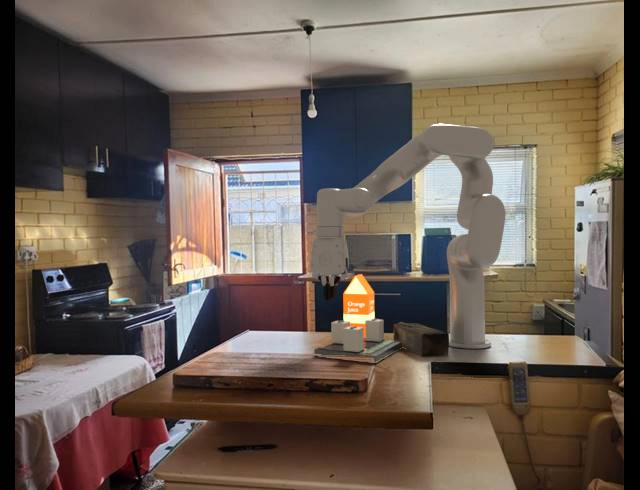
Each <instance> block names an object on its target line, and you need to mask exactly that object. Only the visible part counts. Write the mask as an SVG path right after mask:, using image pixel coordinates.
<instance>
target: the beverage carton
mask: <svg viewBox="0 0 640 490" xmlns="http://www.w3.org/2000/svg"><path fill="white" fill-rule="evenodd" d="M449 337H450V333H449V332H445V331H441V330H440V329H435V328H432V327H429V326H426V325H422V324H420V323H416V322H415V323H414V322H410V323H406V322H403V321H400V322H398V323H394V324H393V341H401V342H402V347H404V348H406V349H407V351H408V350H409V352H411V353H414V354H415V355H417V356H419V357H421V358H435V357H437V358H438V357H448V356H449V354H450V353H449V352H450V351H449V350H450V349H449V348H450V346H449ZM404 348H403V349H404ZM406 349H405V350H406Z"/></svg>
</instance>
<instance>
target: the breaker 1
mask: <svg viewBox="0 0 640 490" xmlns="http://www.w3.org/2000/svg"><path fill="white" fill-rule="evenodd" d="M363 349H364V328H363V327H357V326H353V327H351V326H349V327H346V328H343V350H344V351H353V352H359V351H361V350H363Z"/></svg>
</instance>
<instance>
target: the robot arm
mask: <svg viewBox="0 0 640 490" xmlns="http://www.w3.org/2000/svg"><path fill="white" fill-rule="evenodd" d="M494 146H495V143H494V138H493V136H492V134H491V133H490V132H489V131H488V130H487V129H485V128H482V127H478V126H477V127H476V126H470V125H469V126H466V125H456V124H445V123H436V124H431V125H430V126H428V127H426V128H425V129H424V130H423V131H421V132H419V133H418V134H417V135H415V136H414V137H413V138H411V139H410V140H409V141H408V142H407V143H406V144H404V145H403V146H401V148H399V149H398V150H396V151H395V152H394V153H393V154H392V155H390V156H389V157H388V158H386V159H385V160H384V161H383V162H381V164H379V166H377V168H376V169H374V170H373V171H372V172H371V173H370V174H369V175H368V176H367V177H365V178H364V179H363V180H361V181H360V182H359V183H358V184H357V185H355V186H354V187H353V188H352V187H351V188H344V189H343V188H342V189H340V188H332V187H331V188H327V187H326V188H321V189H319V190H318V191H317V193H316V227H315V229H313V230H312V235H315V237H316V238H313V241H312V245H311V246H312V247H311V251H310V262H309V263H310V265H309V268H310V272H311V276H312V277H311V278H313V279H317V280H319V281H320V283H321V285H322V286H323V297H324V301H335V299H336V297H337V286H338V284H339V283H340V282H341V281H342V280H347V279H349V269H350V263H349V261H350V259H349V258H350V257H349V249H348V243H347V239H346V238H345V215H346V216H348V217H349V218H358V217H360V216H363V215H366V214H367V213H369V212H371V210H372V209H373V207H374V204H375V203H377V202H378V201H379V200H381V199H382V198H383V197H385V196H387V195H388V194H389V193H391V192H393V191H395V190H397V189H398V188H401V186H403V185H404V184H407V183H408V181H410V180H411V179H412V178H413V177H415V176H416V175H417V174H419V173H420V172H421V171H422V170H423V169H424V168H426V167H427V166H428V165H429V164H431V163H432V162H433V161H435V160H436V159H437V158H439V157H441V156H448V157H449V159H450V161H451V162H452V163H453V164H454V166H455V167H456V168H457V169H458V170H459V173H460V175H461V188H460V189H461V190H460V194H459V200H458V206H457V211H456V221H457V223H458V225H459V226H460V227H461V228H464V230H467V231H468V232H467V234H466V233H465V234H460V235H456V236H455V237H454V238H453V239H451V240H450V242H449V243H448V245H447V249H446V260H447V267H448V274H449V347H453V348H458V349H465V350H466V349H467V350H469V349H471V350H476V349H478V350H480V349H485V348H486V349H487V348H490V347H491V346H492V342H491V341H490V340H489V339H487V338H486V319H485V317H486V313H485V311H486V310H485V309H486V308H485V306H486V305H485V301H486V300H485V297H486V296H485V290H486V289H485V287H486V286H485V277H484V276H485V275H484V272H483V271H484V269H488V268H490V267H491V266H493V265H494V264H495V263H496V261H497V260H498V258H499V255H500V252H501V249H502V248H501V247H502V241H503V236H504V229H505V223H506V209H505V204H504V203H503V201H502V200H501V199H500V198H499V197H498V196H497V195H495V194H493V185H494V174H493V171H492V168H491V166H490V164H489V163H488V161H487V159H486V158H488V156H489V155H490V154H491V153H492V151H493V149H494Z"/></svg>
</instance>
